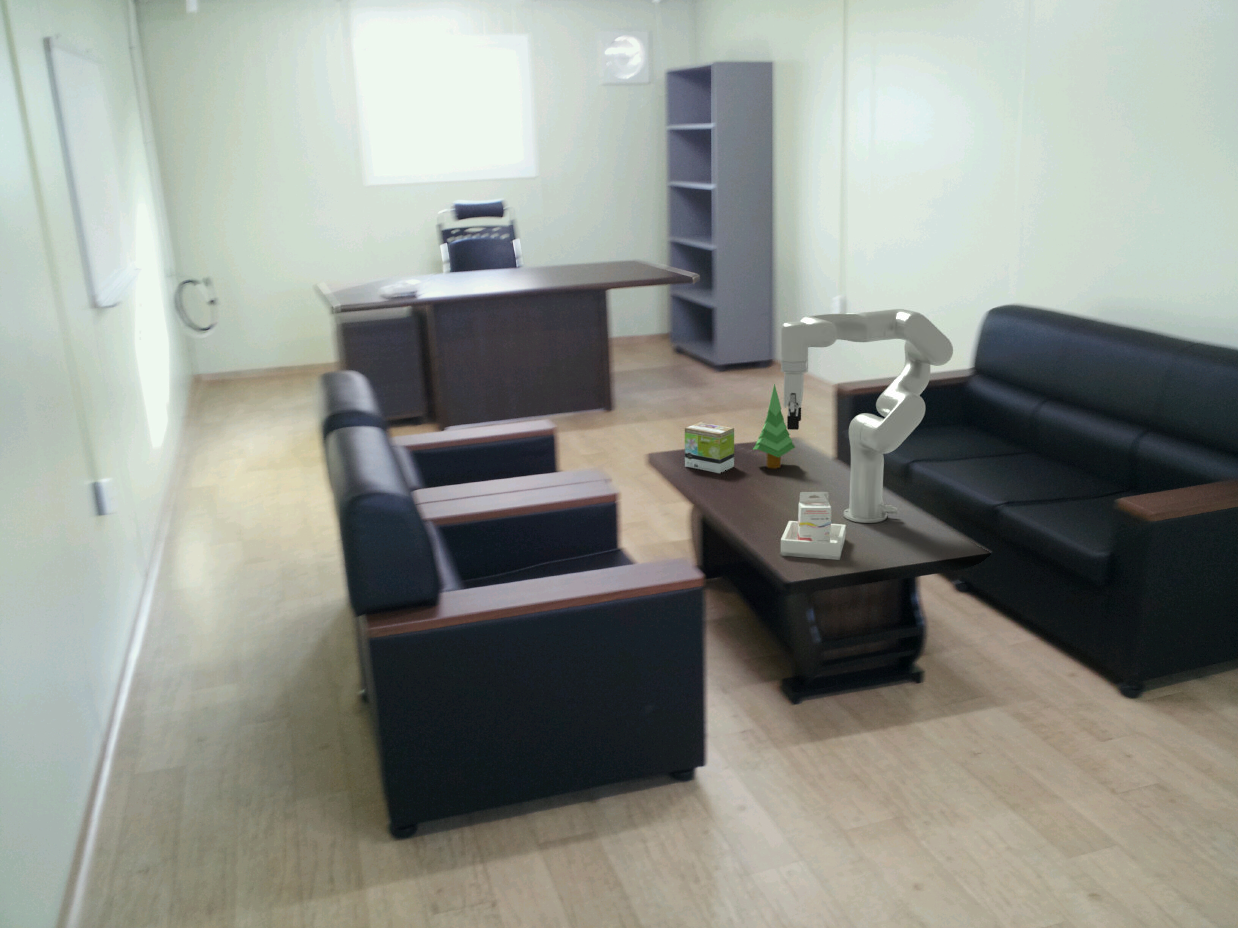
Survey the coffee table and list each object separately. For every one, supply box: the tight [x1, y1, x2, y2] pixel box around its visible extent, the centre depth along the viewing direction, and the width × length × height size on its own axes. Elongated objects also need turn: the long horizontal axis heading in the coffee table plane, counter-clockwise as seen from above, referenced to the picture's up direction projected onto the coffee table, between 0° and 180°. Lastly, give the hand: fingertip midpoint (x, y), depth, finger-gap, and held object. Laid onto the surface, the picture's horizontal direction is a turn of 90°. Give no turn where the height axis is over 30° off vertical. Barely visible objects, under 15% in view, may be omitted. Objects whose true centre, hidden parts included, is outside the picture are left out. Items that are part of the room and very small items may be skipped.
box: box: [780, 520, 847, 561], centre depth 289 cm, size 16×16×4 cm
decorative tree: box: [752, 383, 796, 469], centre depth 362 cm, size 14×16×30 cm
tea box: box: [684, 421, 735, 474], centre depth 366 cm, size 15×10×15 cm
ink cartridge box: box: [797, 491, 832, 542], centre depth 287 cm, size 9×5×15 cm, turn 88°
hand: (794, 425), depth 297 cm, fingers open, 9 cm apart
